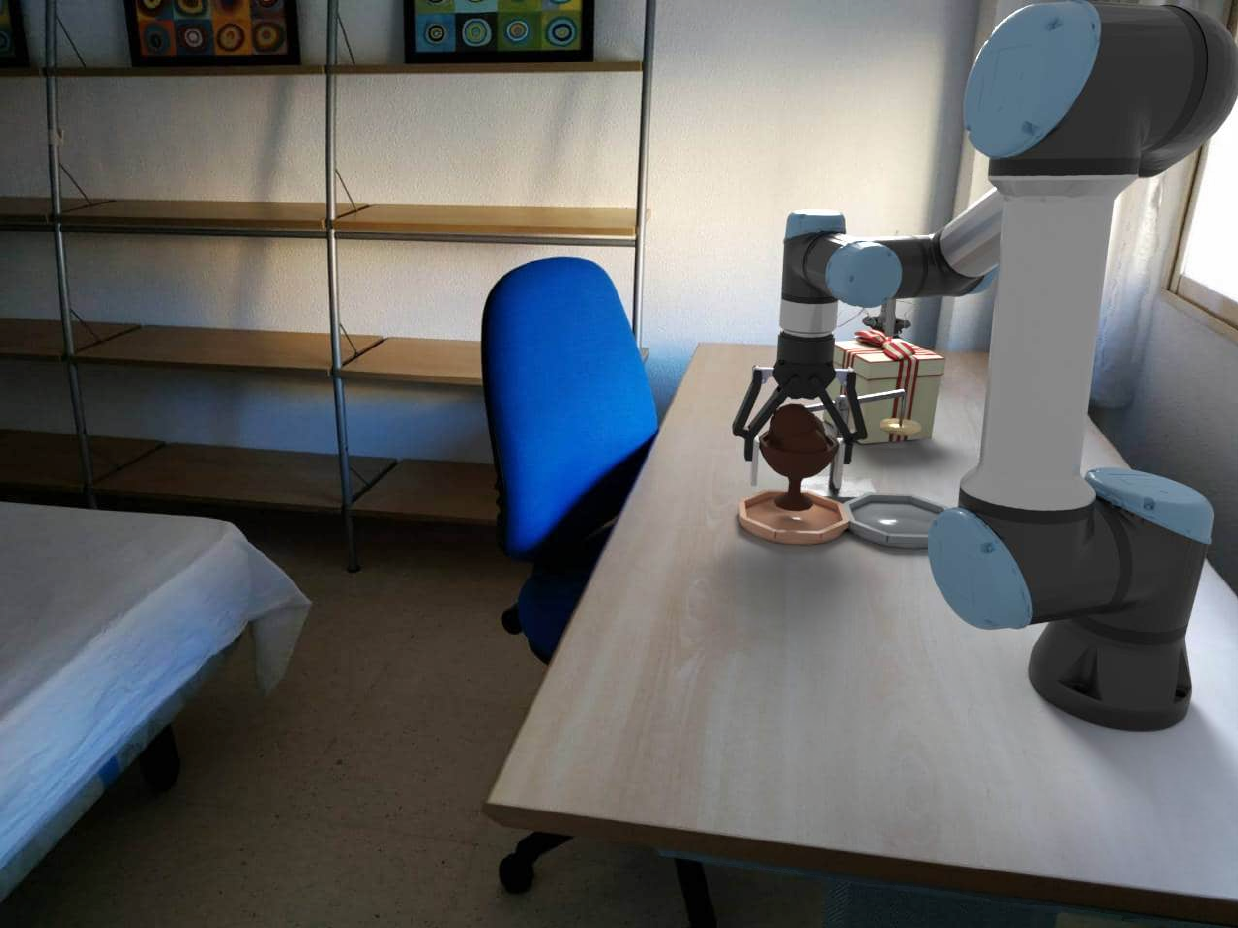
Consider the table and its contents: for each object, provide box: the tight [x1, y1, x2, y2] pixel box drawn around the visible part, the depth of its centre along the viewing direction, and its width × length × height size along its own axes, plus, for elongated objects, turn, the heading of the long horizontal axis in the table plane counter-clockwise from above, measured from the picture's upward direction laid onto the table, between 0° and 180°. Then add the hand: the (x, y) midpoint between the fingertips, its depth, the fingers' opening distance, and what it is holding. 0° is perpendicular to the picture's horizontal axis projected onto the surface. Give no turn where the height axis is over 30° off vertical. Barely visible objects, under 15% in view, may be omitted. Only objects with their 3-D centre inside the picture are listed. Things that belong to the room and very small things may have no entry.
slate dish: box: [843, 492, 950, 550], centre depth 139 cm, size 15×15×2 cm
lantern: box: [836, 229, 915, 342], centre depth 210 cm, size 18×20×30 cm
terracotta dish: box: [737, 488, 849, 546], centre depth 139 cm, size 15×15×2 cm
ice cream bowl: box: [758, 402, 839, 511], centre depth 136 cm, size 11×11×15 cm
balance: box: [759, 389, 921, 504], centre depth 147 cm, size 8×24×17 cm, turn 86°
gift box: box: [822, 329, 946, 445], centre depth 176 cm, size 17×18×17 cm
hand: (795, 483), depth 138 cm, fingers closed on ice cream bowl, 11 cm apart
